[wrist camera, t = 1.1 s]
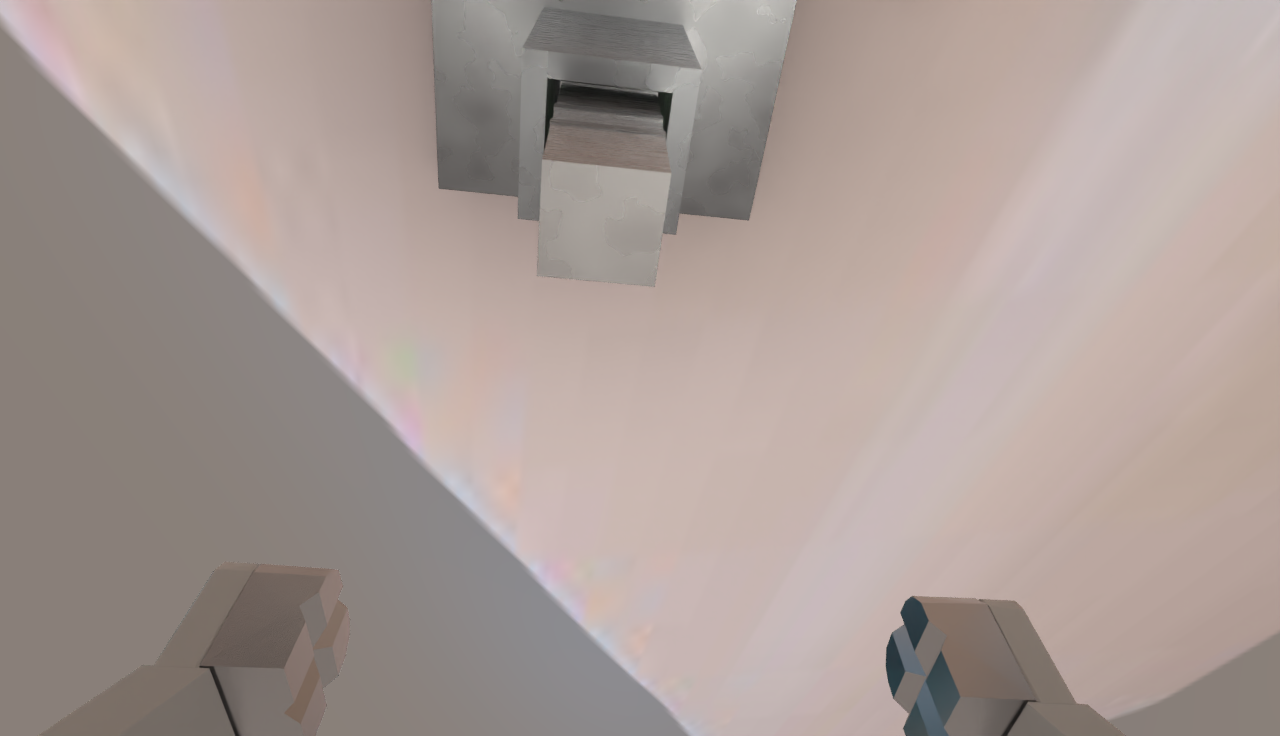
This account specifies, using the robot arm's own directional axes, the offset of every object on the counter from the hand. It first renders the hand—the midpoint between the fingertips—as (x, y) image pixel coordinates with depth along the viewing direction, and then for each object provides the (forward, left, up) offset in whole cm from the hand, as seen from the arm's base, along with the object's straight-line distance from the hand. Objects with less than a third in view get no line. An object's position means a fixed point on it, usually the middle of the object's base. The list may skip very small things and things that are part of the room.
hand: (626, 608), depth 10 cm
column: (+1, -1, -33) cm, 33 cm away
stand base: (+1, -1, -35) cm, 35 cm away
